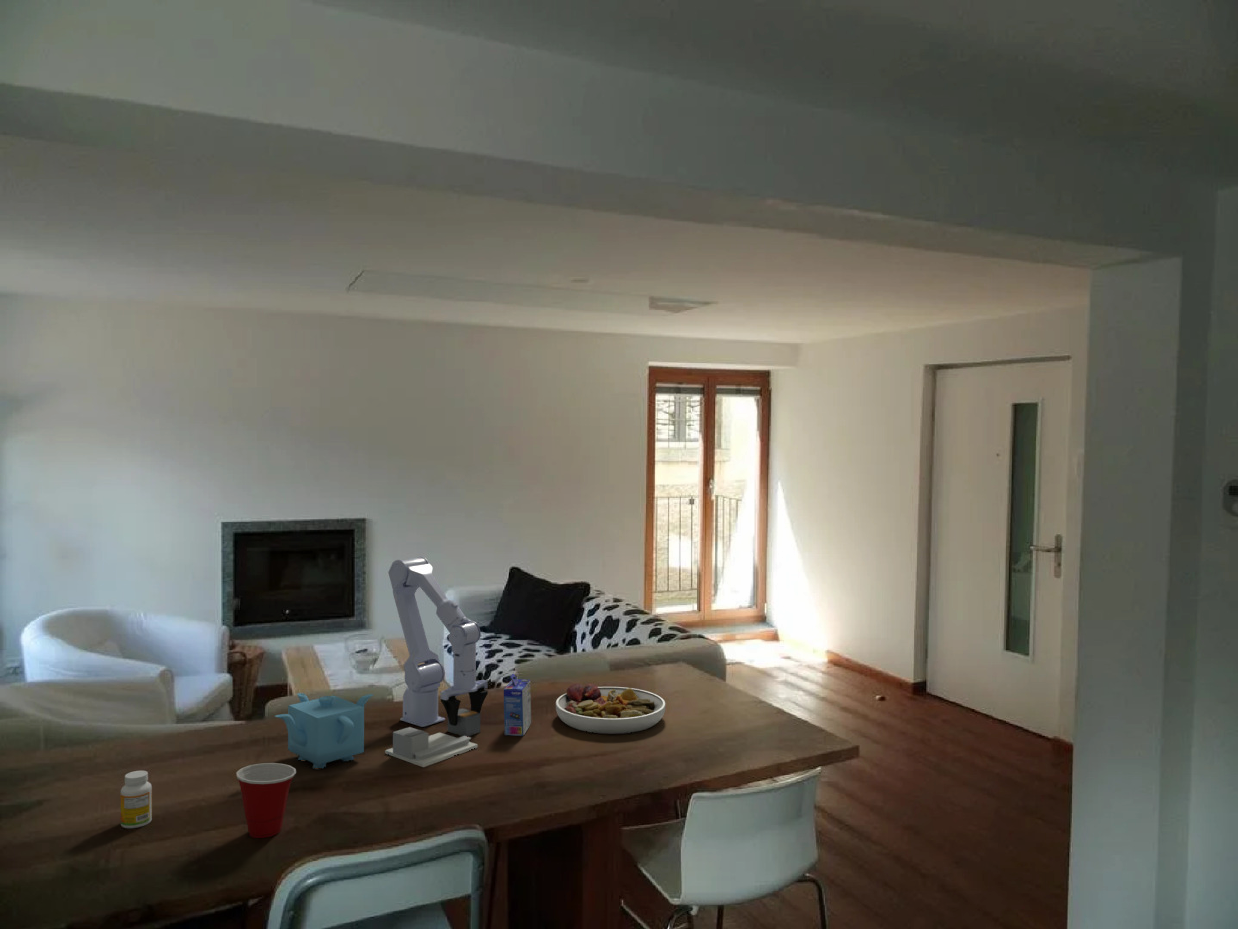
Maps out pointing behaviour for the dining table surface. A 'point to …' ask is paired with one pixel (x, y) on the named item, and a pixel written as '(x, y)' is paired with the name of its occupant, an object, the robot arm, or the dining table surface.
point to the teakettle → (325, 729)
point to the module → (466, 723)
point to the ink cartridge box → (517, 706)
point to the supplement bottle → (136, 800)
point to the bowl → (609, 709)
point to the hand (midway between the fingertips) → (464, 721)
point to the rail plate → (439, 756)
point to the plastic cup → (265, 796)
